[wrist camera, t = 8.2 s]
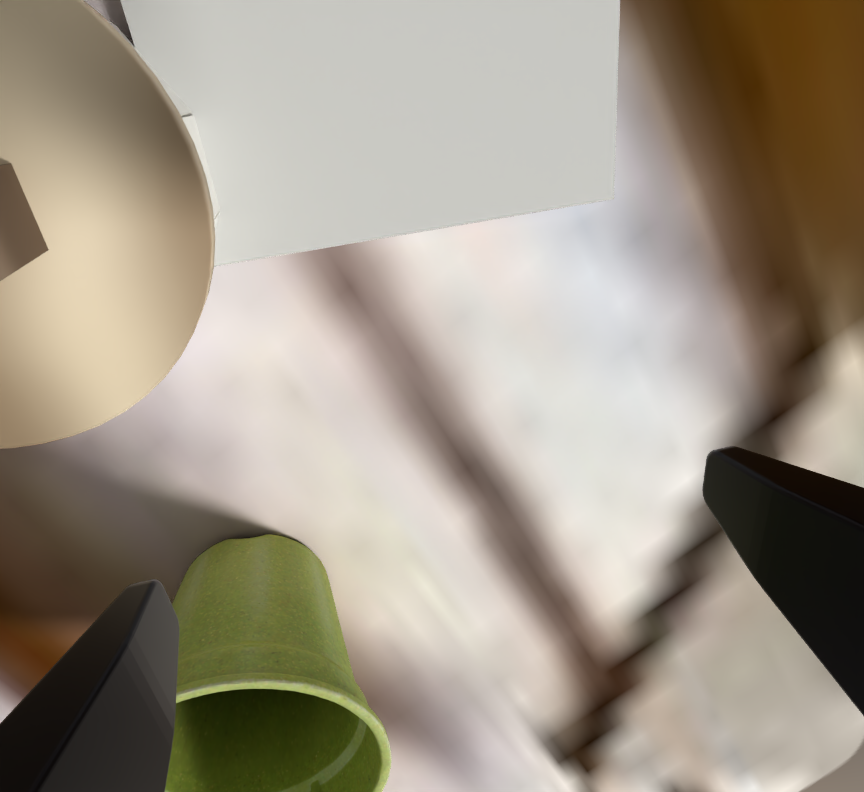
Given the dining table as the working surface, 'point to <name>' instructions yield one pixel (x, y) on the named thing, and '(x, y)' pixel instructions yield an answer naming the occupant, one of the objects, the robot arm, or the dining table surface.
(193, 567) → the plant pot
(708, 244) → the dining table surface
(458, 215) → the mat
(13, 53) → the lid
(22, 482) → the dining table surface
